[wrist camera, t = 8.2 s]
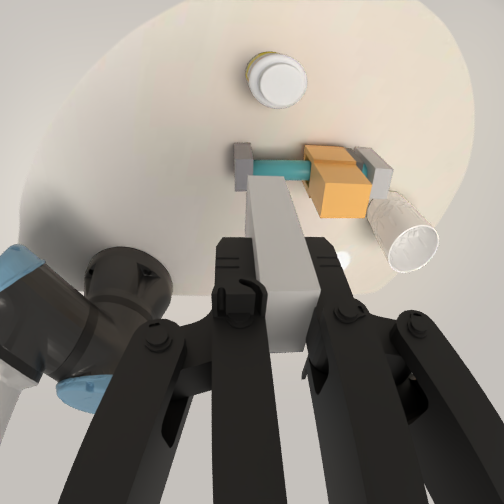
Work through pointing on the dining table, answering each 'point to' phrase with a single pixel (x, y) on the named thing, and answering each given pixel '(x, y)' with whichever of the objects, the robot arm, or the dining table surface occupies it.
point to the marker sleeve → (336, 183)
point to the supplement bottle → (276, 79)
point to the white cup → (402, 233)
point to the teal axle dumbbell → (301, 169)
